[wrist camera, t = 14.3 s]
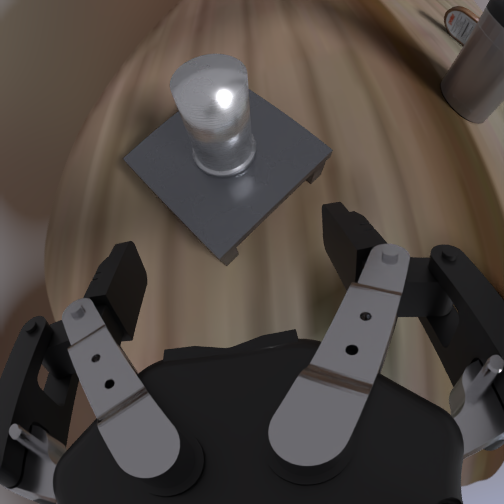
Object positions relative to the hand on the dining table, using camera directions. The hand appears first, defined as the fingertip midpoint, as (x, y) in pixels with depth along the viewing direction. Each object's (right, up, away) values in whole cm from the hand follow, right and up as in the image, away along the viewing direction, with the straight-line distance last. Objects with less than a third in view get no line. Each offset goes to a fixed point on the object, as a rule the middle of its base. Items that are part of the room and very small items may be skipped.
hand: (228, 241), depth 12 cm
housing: (-2, +9, +14) cm, 16 cm away
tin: (+44, +40, +24) cm, 65 cm away
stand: (-1, +8, +18) cm, 20 cm away
